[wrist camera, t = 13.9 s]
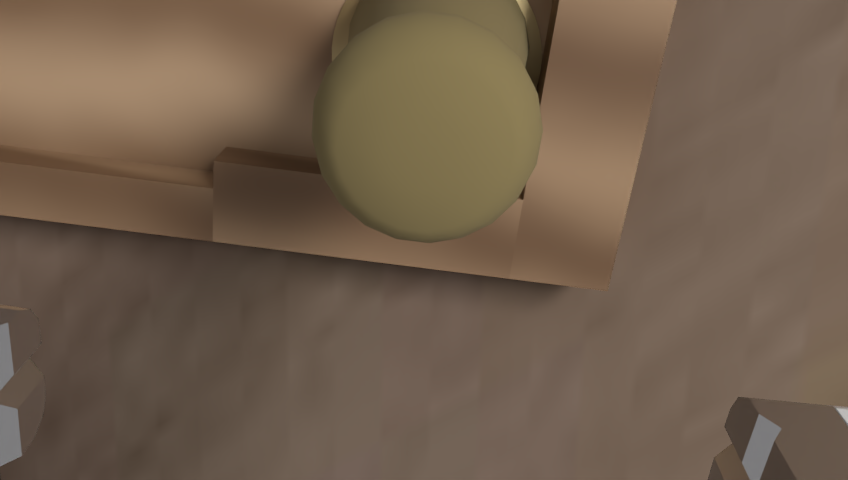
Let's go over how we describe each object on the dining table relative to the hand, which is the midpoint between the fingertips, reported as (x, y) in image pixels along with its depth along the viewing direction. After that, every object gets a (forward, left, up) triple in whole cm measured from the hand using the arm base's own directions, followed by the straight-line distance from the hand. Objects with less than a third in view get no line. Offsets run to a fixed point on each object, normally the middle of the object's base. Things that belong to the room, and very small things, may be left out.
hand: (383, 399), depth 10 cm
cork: (0, 0, -19) cm, 19 cm away
